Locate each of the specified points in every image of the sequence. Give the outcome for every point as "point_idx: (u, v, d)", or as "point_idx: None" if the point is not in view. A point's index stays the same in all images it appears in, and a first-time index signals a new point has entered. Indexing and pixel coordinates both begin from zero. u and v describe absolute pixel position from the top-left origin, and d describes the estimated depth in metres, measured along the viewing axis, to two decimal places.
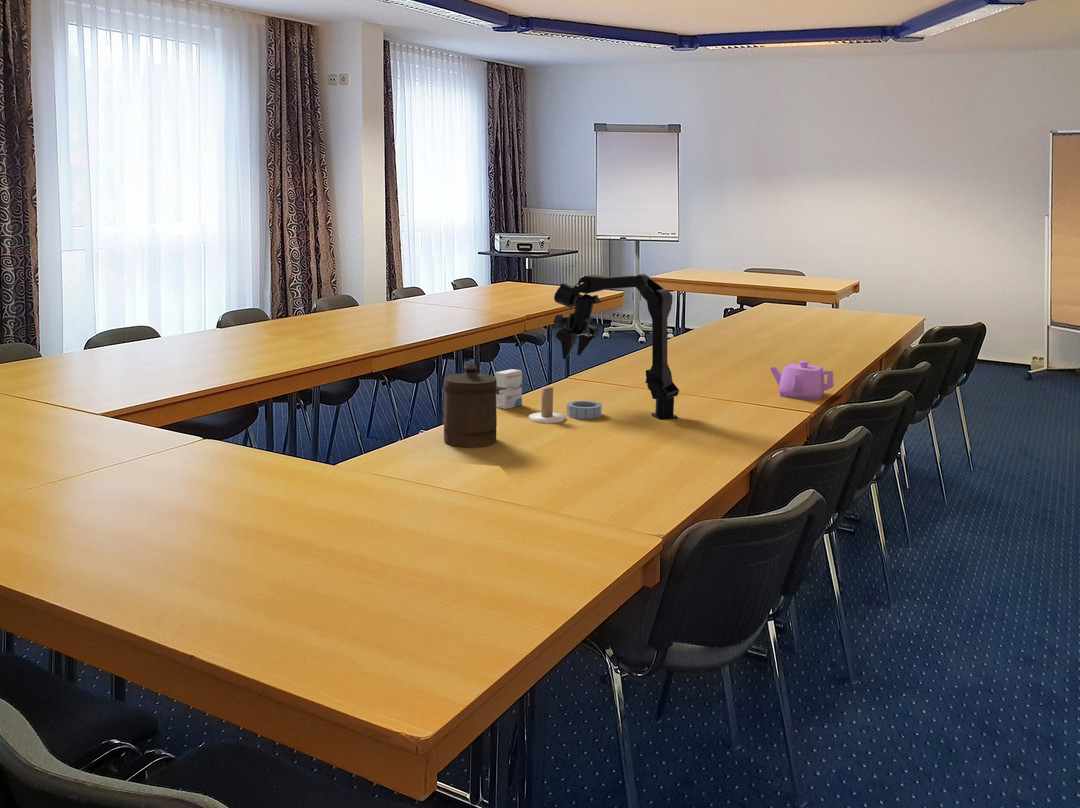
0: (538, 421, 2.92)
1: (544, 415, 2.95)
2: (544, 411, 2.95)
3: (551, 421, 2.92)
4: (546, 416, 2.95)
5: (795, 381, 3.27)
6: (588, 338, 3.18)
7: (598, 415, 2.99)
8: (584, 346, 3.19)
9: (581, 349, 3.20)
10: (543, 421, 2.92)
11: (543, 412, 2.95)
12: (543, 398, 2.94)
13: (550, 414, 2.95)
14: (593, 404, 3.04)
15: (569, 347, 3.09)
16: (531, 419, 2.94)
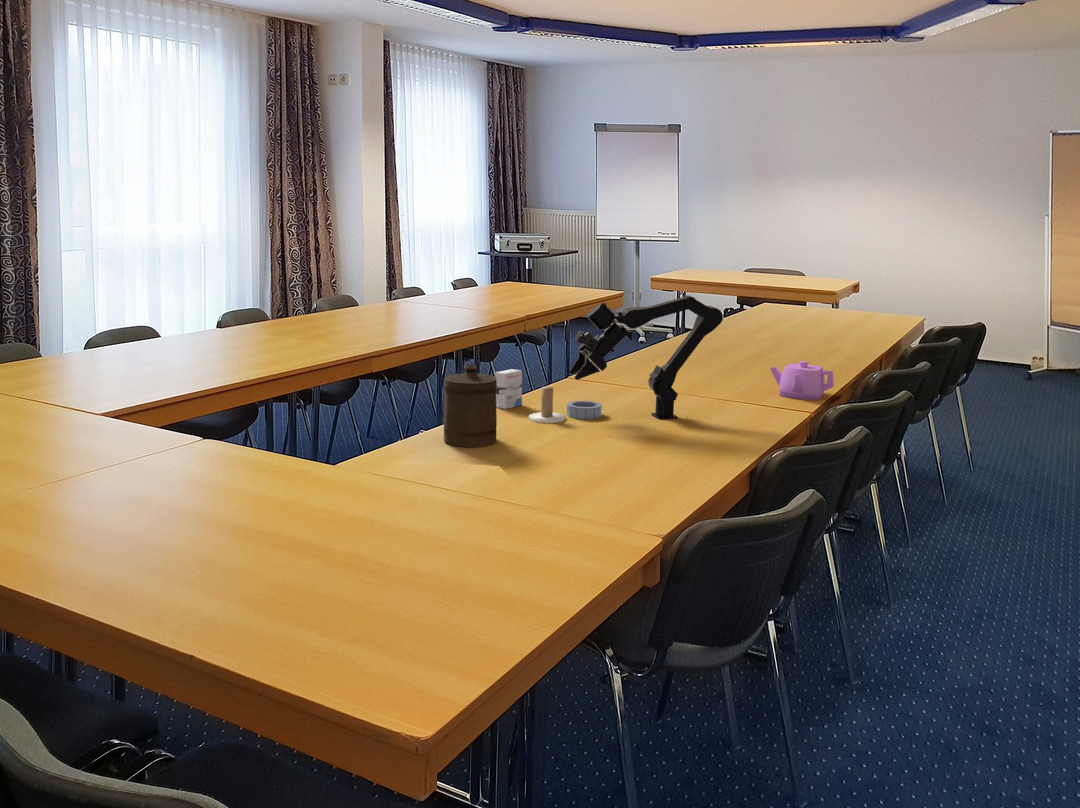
0: (538, 421, 2.92)
1: (544, 415, 2.95)
2: (544, 411, 2.95)
3: (551, 421, 2.92)
4: (546, 416, 2.95)
5: (795, 381, 3.27)
6: None
7: (598, 415, 2.99)
8: (581, 367, 3.00)
9: (576, 369, 3.00)
10: (543, 421, 2.92)
11: (543, 412, 2.95)
12: (543, 398, 2.94)
13: (550, 414, 2.95)
14: (593, 404, 3.04)
15: (591, 372, 2.89)
16: (531, 419, 2.94)
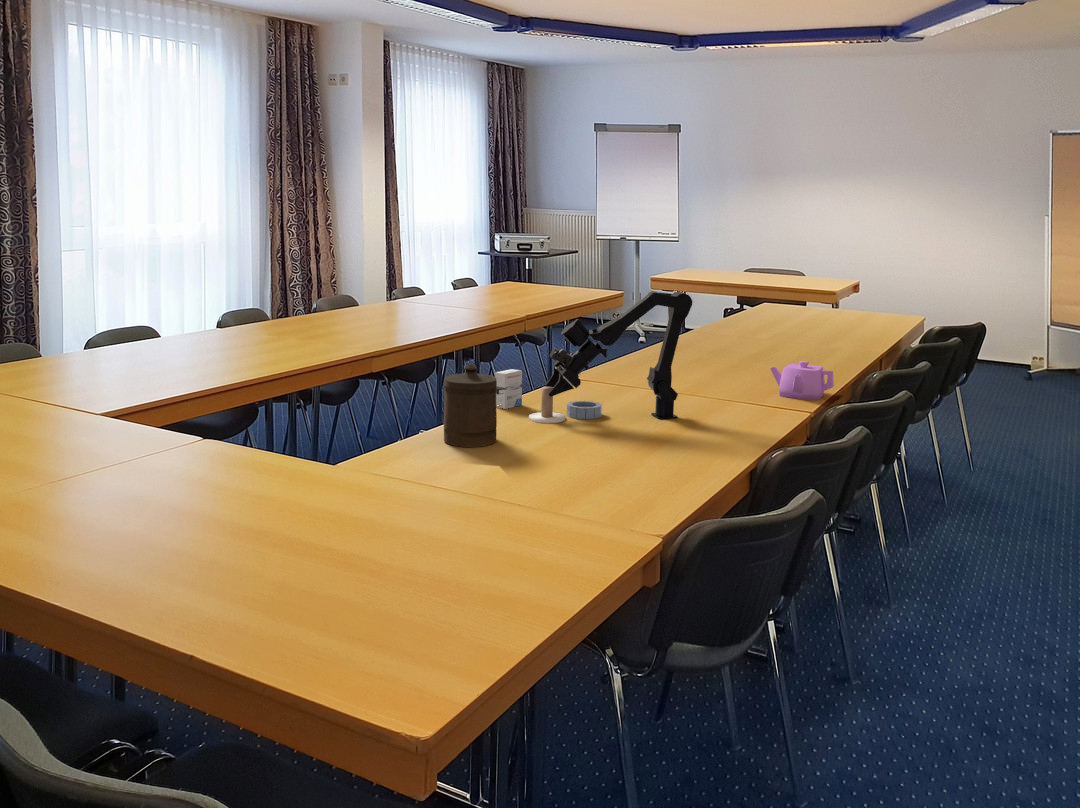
0: (538, 421, 2.92)
1: (544, 415, 2.95)
2: (544, 411, 2.95)
3: (551, 421, 2.92)
4: (546, 416, 2.95)
5: (795, 381, 3.27)
6: None
7: (598, 415, 2.99)
8: (556, 384, 3.00)
9: (551, 385, 3.00)
10: (543, 421, 2.92)
11: (543, 412, 2.95)
12: (543, 398, 2.94)
13: (550, 414, 2.95)
14: (593, 404, 3.04)
15: (565, 389, 2.89)
16: (531, 419, 2.94)
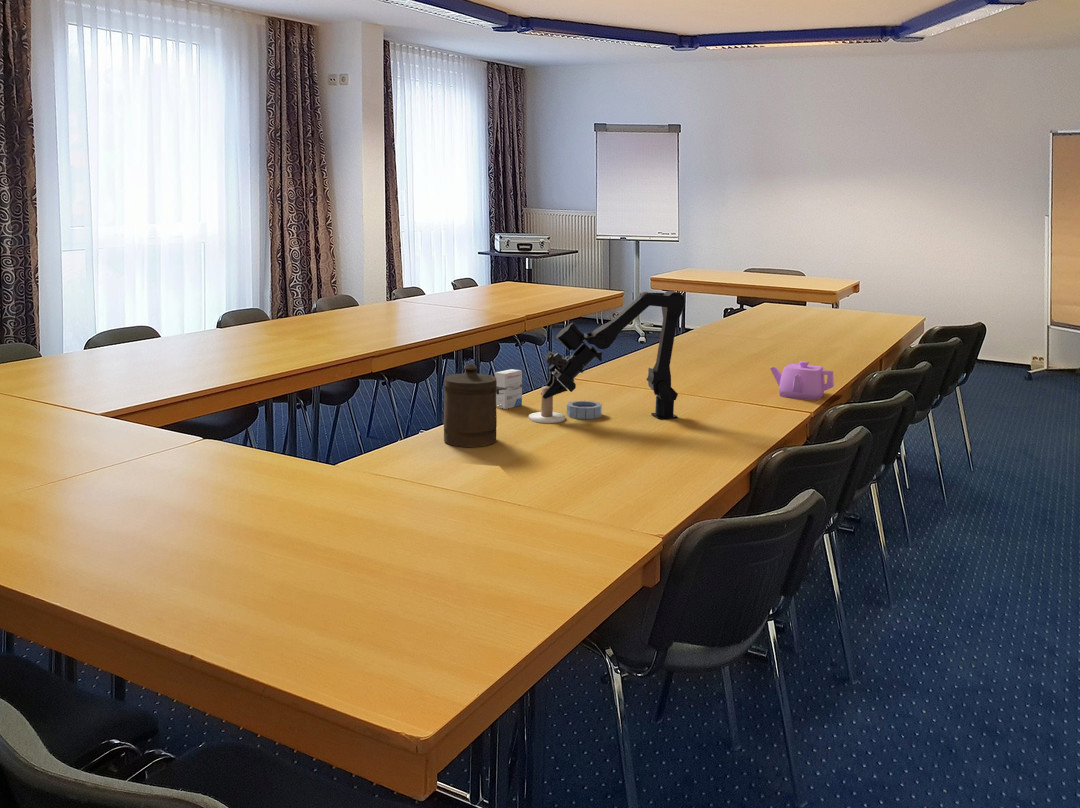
0: (538, 421, 2.92)
1: (544, 415, 2.95)
2: (544, 411, 2.95)
3: (551, 421, 2.92)
4: (546, 416, 2.95)
5: (795, 381, 3.27)
6: None
7: (598, 415, 2.99)
8: None
9: None
10: (543, 421, 2.92)
11: (543, 412, 2.95)
12: (543, 398, 2.94)
13: (550, 414, 2.95)
14: (593, 404, 3.04)
15: (559, 391, 2.92)
16: (531, 419, 2.94)
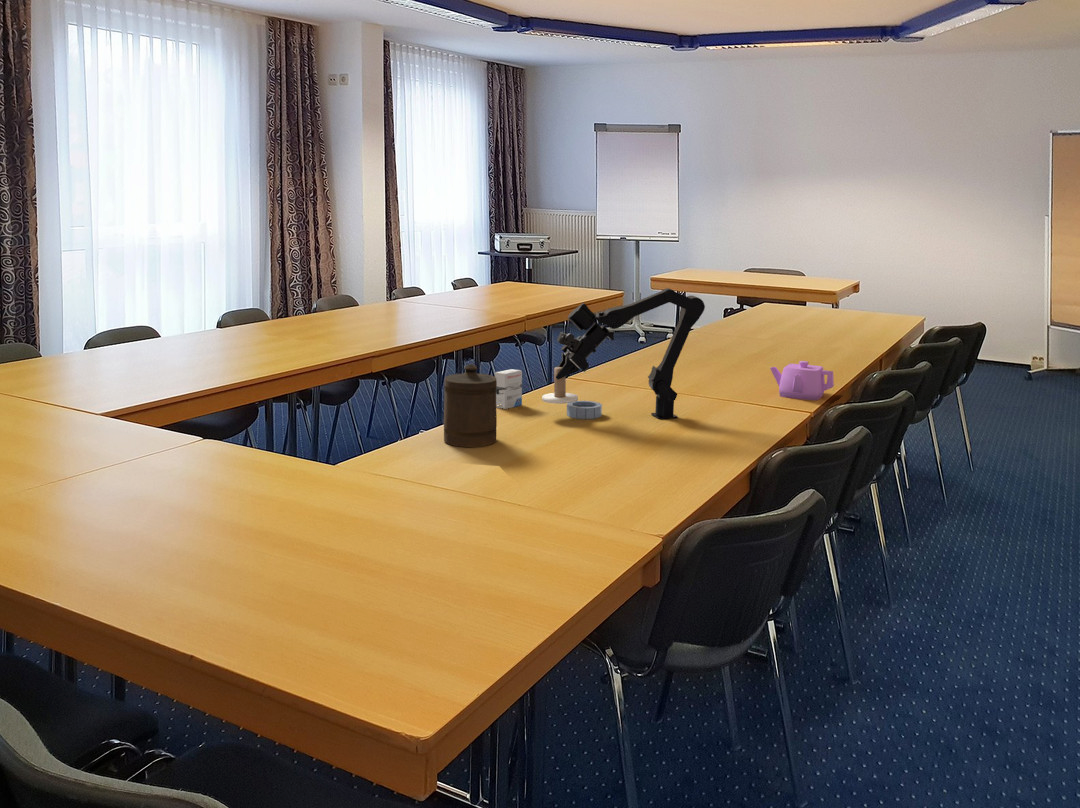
0: (551, 401, 2.92)
1: (557, 395, 2.96)
2: (557, 391, 2.95)
3: (564, 401, 2.92)
4: (559, 396, 2.95)
5: (795, 381, 3.27)
6: None
7: (598, 415, 2.99)
8: None
9: None
10: (556, 401, 2.92)
11: (556, 392, 2.96)
12: (556, 378, 2.95)
13: (563, 394, 2.96)
14: (593, 404, 3.04)
15: (572, 371, 2.92)
16: (544, 399, 2.94)
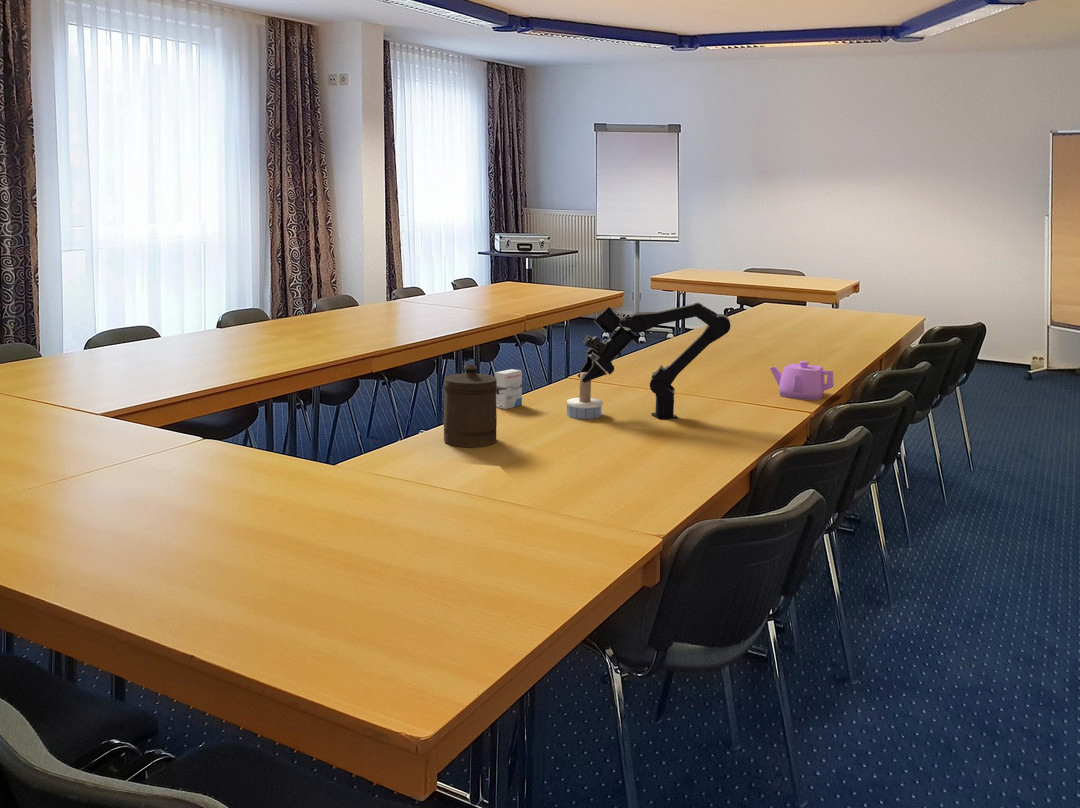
0: (577, 406, 2.97)
1: (582, 400, 3.00)
2: (582, 396, 3.00)
3: (590, 406, 2.96)
4: (584, 401, 3.00)
5: (795, 381, 3.27)
6: None
7: (598, 415, 2.99)
8: None
9: None
10: (582, 406, 2.96)
11: (581, 397, 3.00)
12: (581, 383, 2.99)
13: (588, 399, 3.00)
14: None
15: (598, 375, 2.95)
16: (570, 404, 2.99)
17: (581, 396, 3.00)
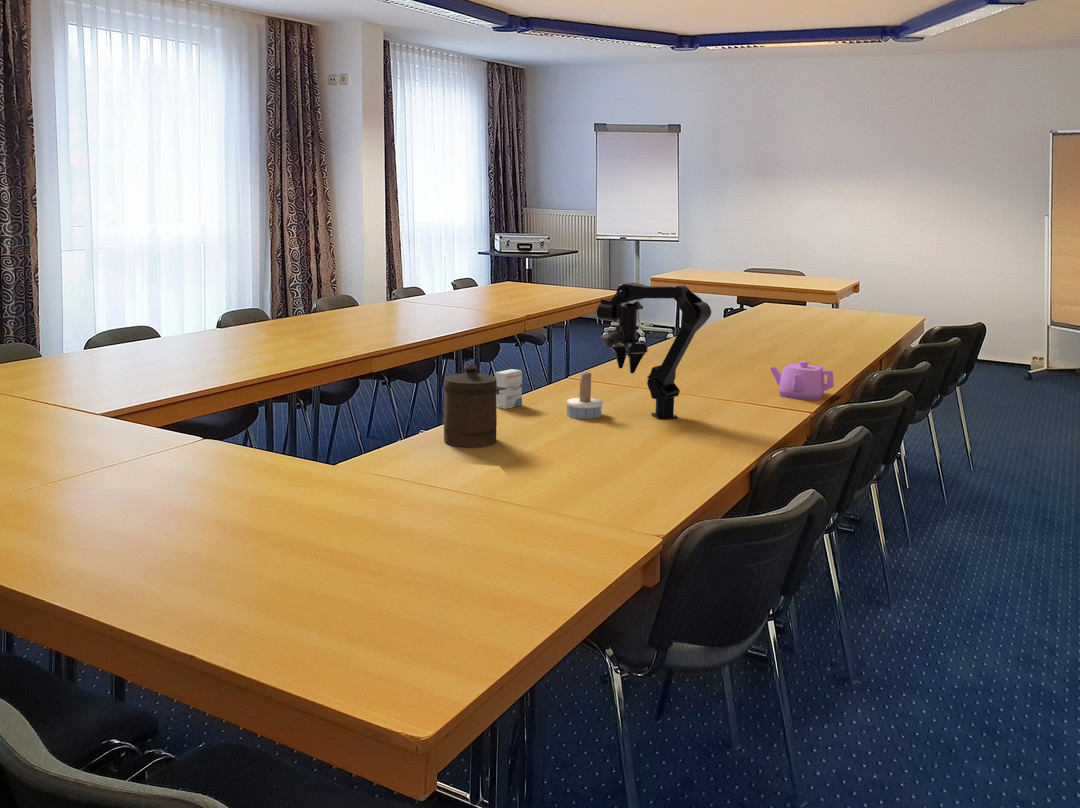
0: (577, 406, 2.97)
1: (582, 400, 3.00)
2: (582, 396, 3.00)
3: (590, 406, 2.96)
4: (584, 401, 3.00)
5: (795, 381, 3.27)
6: None
7: (598, 415, 2.99)
8: (624, 357, 3.12)
9: (622, 361, 3.12)
10: (582, 406, 2.96)
11: (581, 397, 3.00)
12: (581, 383, 2.99)
13: (588, 399, 3.00)
14: None
15: (639, 358, 3.02)
16: (570, 404, 2.99)
17: (581, 396, 3.00)
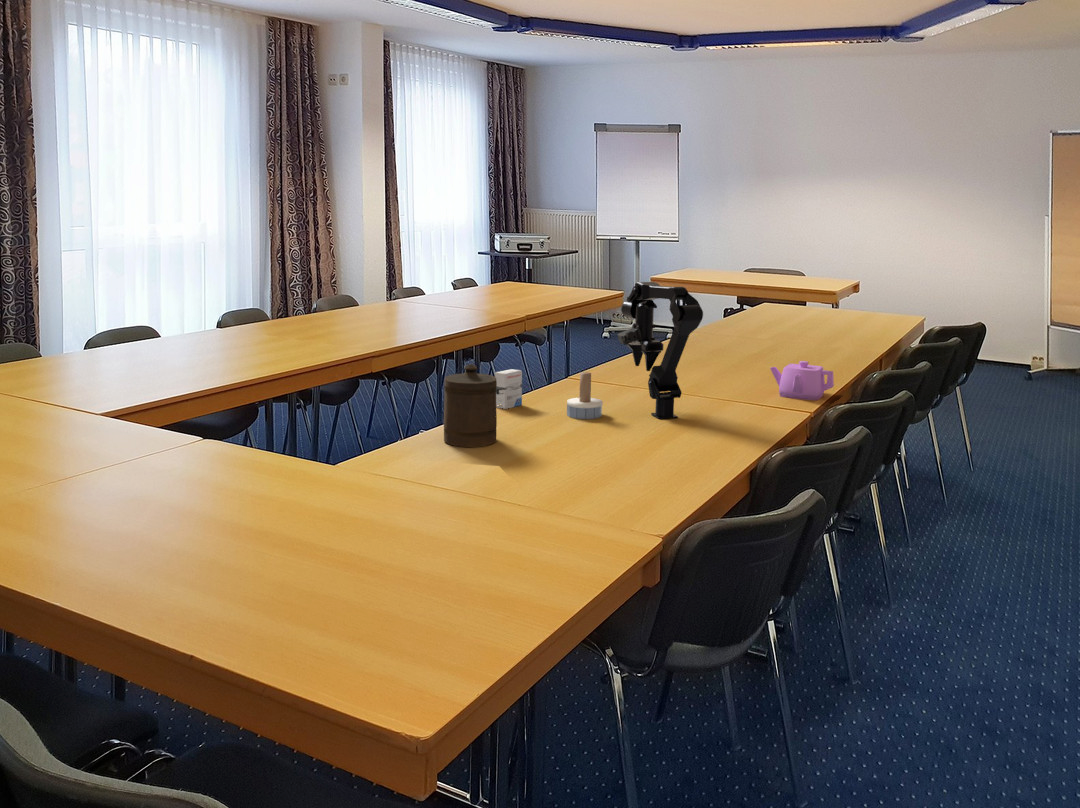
0: (577, 406, 2.97)
1: (582, 400, 3.00)
2: (582, 396, 3.00)
3: (590, 406, 2.96)
4: (584, 401, 3.00)
5: (795, 381, 3.27)
6: None
7: (598, 415, 2.99)
8: (641, 355, 3.16)
9: (639, 359, 3.16)
10: (582, 406, 2.96)
11: (581, 397, 3.00)
12: (581, 383, 2.99)
13: (588, 399, 3.00)
14: None
15: (655, 356, 3.05)
16: (570, 404, 2.99)
17: (581, 396, 3.00)
